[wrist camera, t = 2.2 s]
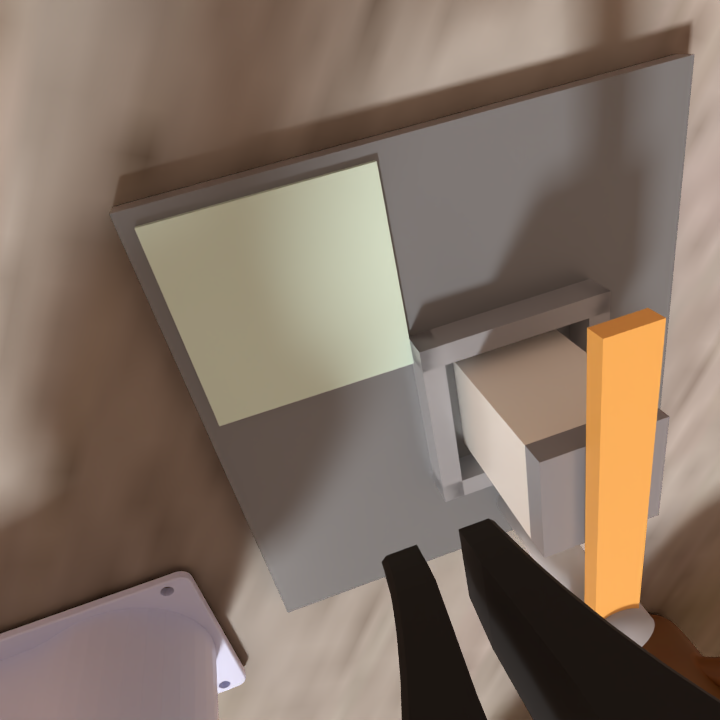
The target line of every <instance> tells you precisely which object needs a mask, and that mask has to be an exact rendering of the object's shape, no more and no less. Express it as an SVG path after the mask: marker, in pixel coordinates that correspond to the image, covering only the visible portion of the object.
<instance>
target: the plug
mask: <svg viewBox="0 0 720 720" xmlns="http://www.w3.org/2000/svg"><path fill="white" fill-rule="evenodd" d="M453 365H454V372H455V379H456V387H457V394H458V401H459V408H460V415H461V422H462V430H463V437H464V443H465V445H466V446H467V447H468V449H469V450H470V452H471V453H472V455H473V456H474V458H475V459H476V460H477V462H478V463H479V465H480V466H481V468H482V469H483V471H484V472H485V473H486V475H487V476H488V478H489V479H490V481H491V482H492V483H493V485H494V486H495V488H496V489H497V491H498V492H499V494H500V495H501V496H502V498H503V499H504V501H505V502H506V504H507V505H508V507H509V508H510V509H511V511H512V512H513V514H514V515H515V517H516V518H517V520H518V521H519V522H520V524H521V525H522V527H523V528H524V530H525V531H526V533H527V534H528V535H529V537H530V538H531V540H532V541H533V543H534V544H535V546H536V547H537V548H538V550H539V551H540V553H541V554H542V556H543V557H544V558H546V557H548V556H551V555H554V554H556V553H559V552H562V551H564V550H567V549H570V548H572V547H575V546H577V545H580V544H583V543H585V492H586V388H587V353H586V352H585V351H583V350H582V349H581V348H580V347H578V346H577V345H576V344H574V343H573V342H572V341H570V340H569V339H568V338H567V337H565V336H564V335H563V334H561V333H560V332H559V331H557V330H556V329H555V330H552V331H549V332H545V333H542V334H539V335H536V336H533V337H530V338H527V339H524V340H521V341H518V342H515V343H512V344H509V345H506V346H503V347H500V348H497V349H493V350H490V351H487V352H484V353H481V354H478V355H475V356H472V357H469V358H466V359H463V360H460V361H457V362H454V363H453ZM668 425H669V416H668V415H667V414H665V413H664V412H663V411H661V410H660V409H659V408H658V411H657V421H656V432H655V443H654V453H653V464H652V475H651V485H650V496H649V507H648V517H647V519H649V518H652V517H654V516H657V515H659V508H660V499H661V489H662V480H663V471H664V462H665V453H666V443H667V434H668Z"/></svg>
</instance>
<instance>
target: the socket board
mask: <svg viewBox="0 0 720 720" xmlns="http://www.w3.org/2000/svg"><path fill="white" fill-rule="evenodd" d="M693 64H694V54H674V55H671V56H667V57H663V58H660V59H656V60H652V61H648V62H645V63H641V64H637V65H634V66H630V67H626V68H623V69H619V70H615V71H612V72H608V73H604V74H601V75H597V76H593V77H590V78H586V79H582V80H578V81H575V82H571V83H567V84H564V85H560V86H556V87H553V88H549V89H545V90H542V91H538V92H534V93H531V94H527V95H523V96H520V97H516V98H512V99H508V100H505V101H501V102H497V103H494V104H490V105H486V106H483V107H479V108H475V109H472V110H468V111H464V112H461V113H457V114H453V115H450V116H446V117H442V118H438V119H435V120H431V121H427V122H424V123H420V124H416V125H413V126H409V127H405V128H402V129H398V130H394V131H391V132H387V133H383V134H380V135H376V136H372V137H368V138H365V139H361V140H357V141H354V142H350V143H346V144H343V145H339V146H335V147H332V148H328V149H324V150H321V151H317V152H313V153H310V154H306V155H302V156H298V157H295V158H291V159H287V160H284V161H280V162H276V163H273V164H269V165H265V166H262V167H258V168H254V169H251V170H247V171H243V172H240V173H236V174H232V175H228V176H225V177H221V178H217V179H214V180H210V181H206V182H203V183H199V184H195V185H192V186H188V187H184V188H181V189H177V190H173V191H170V192H166V193H162V194H158V195H155V196H151V197H147V198H144V199H140V200H136V201H133V202H129V203H125V204H122V205H118V206H114V207H112V209H111V211H110V213H109V215H110V217H111V220H112V222H113V224H114V226H115V229H116V231H117V233H118V235H119V237H120V240H121V242H122V244H123V246H124V249H125V251H126V253H127V255H128V258H129V260H130V262H131V264H132V266H133V269H134V271H135V273H136V275H137V278H138V280H139V282H140V284H141V286H142V289H143V291H144V293H145V295H146V298H147V300H148V302H149V304H150V307H151V309H152V311H153V313H154V315H155V318H156V320H157V322H158V324H159V327H160V329H161V331H162V333H163V335H164V338H165V340H166V342H167V344H168V347H169V349H170V351H171V353H172V355H173V358H174V360H175V362H176V364H177V367H178V369H179V371H180V373H181V376H182V378H183V380H184V382H185V384H186V387H187V389H188V391H189V393H190V396H191V398H192V400H193V402H194V404H195V407H196V409H197V411H198V413H199V416H200V418H201V420H202V422H203V425H204V427H205V429H206V431H207V433H208V436H209V438H210V440H211V442H212V445H213V447H214V449H215V451H216V453H217V456H218V458H219V460H220V462H221V465H222V467H223V469H224V471H225V474H226V476H227V478H228V480H229V482H230V485H231V487H232V489H233V491H234V494H235V496H236V498H237V500H238V502H239V505H240V507H241V509H242V511H243V514H244V516H245V518H246V520H247V523H248V525H249V527H250V529H251V531H252V534H253V536H254V538H255V540H256V543H257V545H258V547H259V549H260V551H261V554H262V556H263V558H264V560H265V563H266V565H267V567H268V569H269V572H270V574H271V576H272V578H273V580H274V583H275V585H276V587H277V589H278V592H279V594H280V596H281V598H282V600H283V603H284V605H285V607H286V609H287V612H291V611H294V610H296V609H299V608H302V607H305V606H307V605H310V604H313V603H315V602H318V601H321V600H324V599H326V598H329V597H332V596H334V595H337V594H340V593H342V592H345V591H348V590H351V589H353V588H356V587H359V586H361V585H364V584H367V583H370V582H372V581H375V580H378V579H380V578H383V577H386V576H385V572H384V569H383V565H382V561H383V559H384V558H385V557H386V556H387V555H389V554H392V553H395V552H398V551H400V550H403V549H406V548H409V547H411V546H414V545H417V546H418V547H419V549H420V551H421V553H422V555H423V557H424V558H425V560H426V561H429V560H432V559H435V558H437V557H440V556H443V555H445V554H448V553H451V552H454V551H456V550H459V549H462V548H461V542H460V536H459V530H458V529H461V528H463V527H466V526H469V525H472V524H474V523H477V522H480V521H483V520H485V519H488V518H489V519H491V520H493V521H495V522H496V523H497V524H498V525H499V526H500V527H501V528H502V529H503V530H504V531H505V532H508V531H510V530H514V532H515V533H516V534H517V536H518V537H519V539H520V540H521V542H522V543H523V545H524V546H525V548H526V549H527V551H528V552H529V554H530V555H531V557H532V558H533V559H534V560H535V561H536V562H537V563H539V564H540V565H541V566H542V567H543V568H544V569H545V570H546V571H547V572H549V573H550V574H551V575H552V576H553V577H554V578H555V579H557V580H558V581H559V582H560V583H561V584H562V585H564V586H565V587H566V588H567V589H569V590H570V591H571V592H572V593H573V594H575V595H576V596H577V597H578V598H579V599H581V600H582V601H583V602H584V596H585V551H584V550H583V549H582V547H581V546H580V545H577V546H575V547H572V548H570V549H567V550H564V551H562V552H559V553H556V554H554V555H551V556H548V557H546V558H544V557H543V556H542V554H541V553H540V551H539V550H538V548H537V547H536V546H535V544H534V543H533V541H532V540H531V538H530V537H529V535H528V534H527V533H526V531H525V530H524V528H523V527H522V525H521V524H520V522H519V521H518V520H517V518H516V517H515V515H514V514H513V512H512V511H511V509H510V508H509V507H508V505H507V504H506V502H505V501H504V499H503V498H502V496H501V495H500V494H499V492H498V491H497V489H496V488H495V486H494V485H493V483H492V482H491V481H490V479H489V478H488V476H487V475H486V473H485V472H484V471H483V469H482V468H481V466H480V465H479V463H478V462H477V460H476V459H475V458H474V456H473V455H472V453H471V452H470V450H469V449H468V447H467V446H466V445H465V443H464V437H463V430H462V422H461V415H460V408H459V401H458V394H457V387H456V379H455V372H454V365H453V363H454V362H457V361H460V360H463V359H466V358H469V357H472V356H475V355H478V354H481V353H484V352H487V351H490V350H493V349H497V348H500V347H503V346H506V345H509V344H512V343H515V342H518V341H521V340H524V339H527V338H530V337H533V336H536V335H539V334H542V333H545V332H549V331H552V330H555V329H556V330H557V331H559V332H560V333H561V334H563V335H564V336H565V337H567V338H568V339H569V340H570V341H572V342H573V343H574V344H576V345H577V346H578V347H580V348H581V349H582V350H583V351H585V352H586V353H587V328H588V327H591V326H594V325H597V324H600V323H603V322H606V321H609V320H612V319H615V318H618V317H621V316H624V315H627V314H631V313H634V312H637V311H640V310H643V309H646V308H649V309H651V310H653V311H655V312H656V313H658V314H660V315H662V316H663V317H665V318H666V325H665V336H664V347H663V357H662V368H661V379H660V389H659V400H658V408H659V409H660V405H661V395H662V385H663V374H664V364H665V354H666V343H667V333H668V323H669V312H670V302H671V292H672V281H673V271H674V260H675V250H676V240H677V229H678V219H679V209H680V198H681V188H682V178H683V167H684V157H685V147H686V136H687V126H688V115H689V105H690V95H691V84H692V74H693Z"/></svg>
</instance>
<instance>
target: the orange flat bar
mask: <svg viewBox="0 0 720 720" xmlns="http://www.w3.org/2000/svg"><path fill="white" fill-rule="evenodd" d="M665 325H666V318H665V317H663V316H662V315H660V314H658V313H656V312H655V311H653V310H651V309H649V308H646V309H643V310H640V311H637V312H634V313H631V314H627V315H624V316H621V317H618V318H615V319H612V320H609V321H606V322H603V323H600V324H597V325H594V326H591V327H588V328H587V388H586V492H585V596H584V603H586V604H587V605H588V606H589V607H590V608H592V609H593V610H594V611H595V612H597V613H598V614H599V615H600V616H602V617H603V618H604V619H606V620H607V621H608V622H609V623H611V624H612V625H613V626H615V627H616V628H617V629H619V630H620V631H621V632H623V633H624V634H625V635H627V636H628V637H629V638H631V639H632V640H633V641H635V642H636V643H637V644H639V645H640V646H641V647H642V646H643V645H644V644H645V643H646V642H647V641H648V640H649V638H650V637H651V635H652V633H653V631H654V626H655V623H654V620H653V618H652V617H651V616H650V615H649V613H648V612H647V611H646V610H645V608H644V607H643V606H642V605H641V603H640V592H641V582H642V571H643V560H644V550H645V539H646V528H647V517H648V507H649V496H650V485H651V475H652V464H653V453H654V443H655V432H656V421H657V411H658V400H659V389H660V379H661V368H662V357H663V347H664V336H665Z"/></svg>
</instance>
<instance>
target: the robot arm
mask: <svg viewBox="0 0 720 720" xmlns="http://www.w3.org/2000/svg"><path fill="white" fill-rule="evenodd" d="M458 530H459V536H460V542H461V548H462V554H463V560H464V566H465V572H466V578H467V585H468V591H469V597H470V599H471V601H472V603H473V606H474V608H475V610H476V612H477V615H478V617H479V619H480V621H481V624H482V626H483V628H484V630H485V632H486V635H487V637H488V639H489V641H490V643H491V646H492V648H493V650H494V652H495V653H496V655H497V657H498V659H499V660H500V662H501V664H502V666H503V667H504V669H505V671H506V673H507V674H508V676H509V678H510V680H511V682H512V683H513V685H514V687H515V689H516V690H517V692H518V694H519V696H520V697H521V699H522V701H523V702H524V704H525V706H526V708H527V709H528V711H529V713H530V715H531V716H532V718H533V720H720V700H719V699H718V698H716V697H715V696H713V695H711V694H710V693H708V692H707V691H705V690H704V689H702V688H701V687H699V686H698V685H696V684H695V683H693V682H692V681H690V680H689V679H687V678H686V677H684V676H683V675H681V674H680V673H678V672H677V671H675V670H674V669H672V668H671V667H669V666H668V665H667V664H665V663H664V662H662V661H661V660H659V659H658V658H657V657H655V656H654V655H652V654H651V653H650V652H648V651H647V650H645V649H644V648H643V647H641V646H640V645H639V644H637V643H636V642H635V641H633V640H632V639H631V638H629V637H628V636H627V635H625V634H624V633H623V632H621V631H620V630H619V629H617V628H616V627H615V626H613V625H612V624H611V623H609V622H608V621H607V620H606V619H604V618H603V617H602V616H600V615H599V614H598V613H597V612H595V611H594V610H593V609H592V608H590V607H589V606H588V605H587V604H586V603H584V602H583V601H582V600H581V599H579V598H578V597H577V596H576V595H575V594H573V593H572V592H571V591H570V590H569V589H567V588H566V587H565V586H564V585H562V584H561V583H560V582H559V581H558V580H557V579H555V578H554V577H553V576H552V575H551V574H550V573H549V572H547V571H546V570H545V569H544V568H543V567H542V566H541V565H540V564H539V563H537V562H536V561H535V560H534V559H533V558H532V557H531V556H530V555H529V554H528V553H526V552H525V551H524V550H523V549H522V548H521V547H520V546H519V545H518V544H517V543H516V542H515V541H514V540H513V539H512V538H511V537H510V536H509V535H508V534H507V533H506V532H505V531H504V530H503V529H502V528H501V527H500V526H499V525H498V524H497V523H496V522H495V521H493V520H491V519H489V518H488V519H485V520H483V521H480V522H477V523H474V524H472V525H469V526H466V527H463V528H461V529H458ZM382 565H383V569H384V572H385V576H386V579H387V583H388V587H389V590H390V594H391V598H392V604H393V610H394V617H395V624H396V632H397V643H398V655H399V666H400V679H401V706H402V720H487V718H486V716H485V713H484V711H483V708H482V706H481V703H480V701H479V699H478V696H477V694H476V691H475V688H474V685H473V682H472V680H471V677H470V674H469V671H468V669H467V666H466V663H465V660H464V657H463V655H462V652H461V649H460V646H459V643H458V641H457V638H456V635H455V632H454V630H453V627H452V624H451V621H450V618H449V616H448V613H447V610H446V607H445V605H444V602H443V599H442V596H441V594H440V591H439V588H438V585H437V583H436V580H435V578H434V576H433V574H432V572H431V570H430V568H429V566H428V564H427V562H426V560H425V558H424V557H423V555H422V553H421V551H420V549H419V547H418V546H417V545H414V546H411V547H409V548H406V549H403V550H400V551H398V552H395V553H392V554H389V555H387V556H386V557H385V558H384V559H383V561H382ZM164 587H170V588H164ZM245 679H246V674H245V669H244V667H243V665H242V664H241V662H240V660H239V658H238V657H237V655H236V653H235V651H234V650H233V648H232V646H231V644H230V643H229V641H228V639H227V637H226V635H225V634H224V632H223V630H222V628H221V627H220V625H219V623H218V621H217V620H216V618H215V616H214V614H213V612H212V611H211V609H210V607H209V605H208V604H207V602H206V600H205V598H204V597H203V595H202V593H201V591H200V589H199V588H198V586H197V584H196V582H195V581H194V579H193V577H192V576H191V575H190V574H189V573H187V572H185V571H178V572H174V573H172V574H169V575H166V576H163V577H160V578H157V579H155V580H152V581H149V582H146V583H143V584H140V585H137V586H135V587H132V588H129V589H126V590H123V591H120V592H118V593H115V594H112V595H109V596H106V597H103V598H101V599H98V600H95V601H92V602H89V603H86V604H83V605H81V606H78V607H75V608H72V609H69V610H66V611H64V612H61V613H58V614H55V615H52V616H49V617H47V618H44V619H41V620H38V621H35V622H32V623H29V624H27V625H24V626H21V627H18V628H15V629H12V630H10V631H7V632H4V633H1V634H0V720H219V715H218V693H221V692H223V691H226V690H229V689H231V688H234V687H236V686H239V685H241V684H242V683H243V682H244V681H245Z"/></svg>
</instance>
